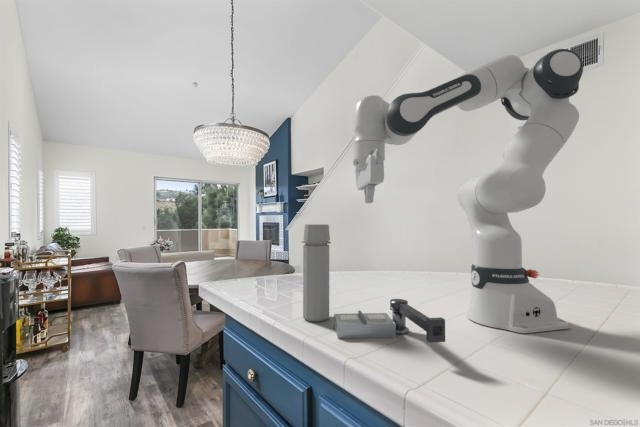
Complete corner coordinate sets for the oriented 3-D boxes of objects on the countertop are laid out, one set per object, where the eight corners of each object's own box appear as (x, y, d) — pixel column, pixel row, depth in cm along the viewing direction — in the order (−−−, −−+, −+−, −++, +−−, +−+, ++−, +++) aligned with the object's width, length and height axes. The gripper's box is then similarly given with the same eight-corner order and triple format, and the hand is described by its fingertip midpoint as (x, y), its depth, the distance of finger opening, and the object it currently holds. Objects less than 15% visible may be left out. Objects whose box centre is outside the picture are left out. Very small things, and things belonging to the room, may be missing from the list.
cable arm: (387, 311, 73) (387, 295, 73) (403, 310, 73) (403, 294, 74) (427, 342, 54) (427, 320, 54) (447, 341, 55) (447, 319, 55)
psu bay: (386, 325, 75) (386, 309, 75) (395, 337, 67) (395, 320, 67) (334, 325, 74) (334, 310, 74) (337, 338, 66) (337, 321, 66)
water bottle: (328, 323, 76) (328, 224, 76) (298, 321, 77) (298, 224, 78) (333, 313, 85) (333, 224, 85) (306, 311, 86) (307, 224, 87)
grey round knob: (405, 327, 73) (405, 308, 73) (411, 334, 69) (411, 314, 69) (387, 327, 73) (387, 309, 73) (392, 334, 69) (392, 314, 69)
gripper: (390, 145, 76) (390, 200, 75) (372, 161, 96) (372, 205, 96) (365, 145, 75) (365, 200, 75) (352, 161, 96) (352, 204, 96)
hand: (369, 202), depth 86 cm, fingers closed
